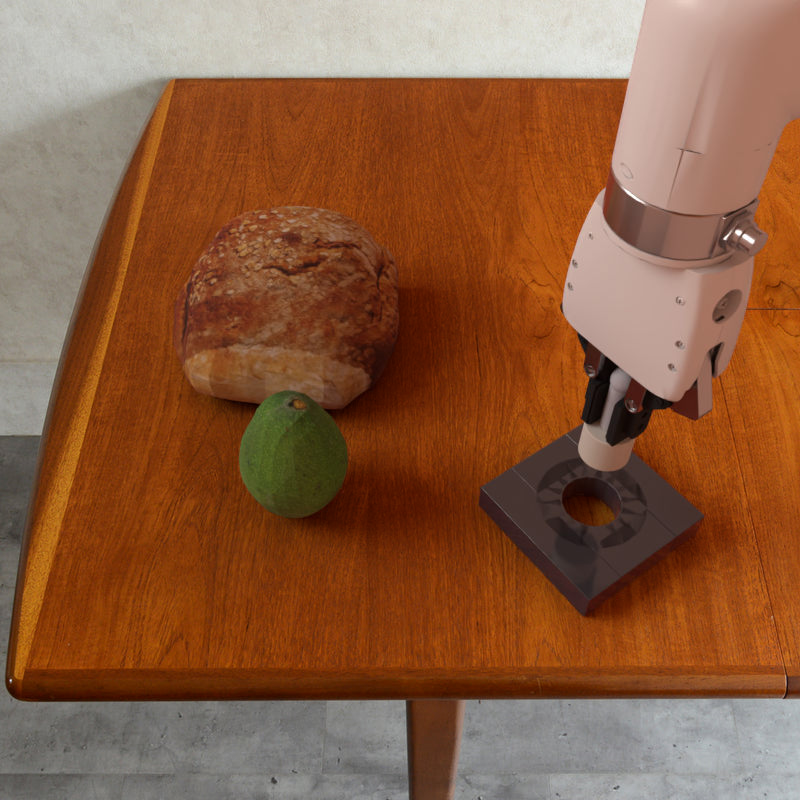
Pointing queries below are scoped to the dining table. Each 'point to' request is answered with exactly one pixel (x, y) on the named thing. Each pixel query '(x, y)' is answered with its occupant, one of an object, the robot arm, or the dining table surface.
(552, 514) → the sink plate
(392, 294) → the bread
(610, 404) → the stopper
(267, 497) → the fruit
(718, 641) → the dining table surface
